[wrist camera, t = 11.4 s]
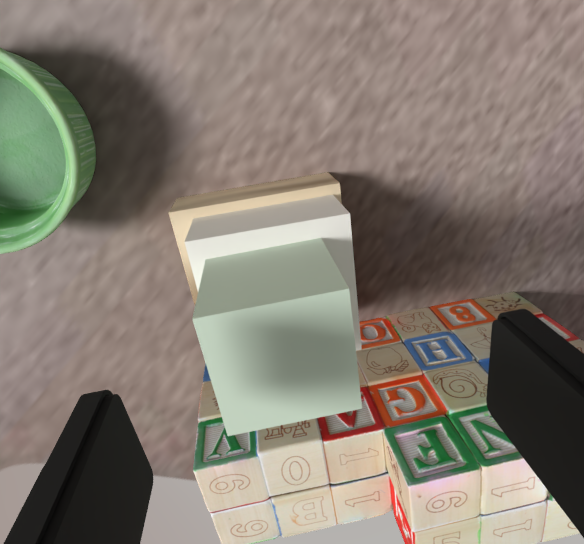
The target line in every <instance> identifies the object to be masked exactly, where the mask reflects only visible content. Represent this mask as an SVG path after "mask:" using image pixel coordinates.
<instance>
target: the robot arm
mask: <svg viewBox="0 0 584 544" xmlns="http://www.w3.org/2000/svg"><path fill="white" fill-rule="evenodd" d="M486 403H487V408H488V410H489V412H490V414H491V416H492V417H493V419H494V420H495V421H496V423H497V424H498V425H499V427H500V428H501V429H502V430H503V432H504V433H505V434H506V436H507V437H508V438H509V440H510V441H511V442H512V444H513V445H514V446H515V448H516V449H517V450H518V452H519V453H520V454H521V456H522V457H523V458H524V460H525V461H526V462H527V464H528V465H529V466H530V468H531V469H532V470H533V471H534V473H535V474H536V475H537V477H538V478H539V479H540V481H541V482H542V483H543V485H544V486H545V487H546V489H547V490H548V491H549V493H550V494H551V495H552V497H553V498H554V499H555V501H556V502H557V503H558V505H559V506H560V507H561V508H562V510H563V511H564V512H565V514H566V515H567V516H568V518H569V519H570V520H571V522H572V523H573V524H574V526H575V527H576V528H577V530H578V531H579V532H580V533H581V535H582V536H583V537H584V354H583V353H582V352H581V351H579V350H578V349H577V348H576V347H574V346H573V345H572V344H571V343H569V342H568V341H567V340H566V339H564V338H563V337H562V336H560V335H559V334H558V333H557V332H555V331H554V330H553V329H552V328H550V327H549V326H548V325H546V324H545V323H544V322H543V321H541V320H540V319H539V318H538V317H536V316H535V315H534V314H532V313H531V312H530V311H528V310H527V309H518V310H513V311H508V312H503V313H500V314H499V316H498V318H497V320H494V321H493V323H492V331H491V344H490V357H489V370H488V384H487V397H486ZM152 486H153V472H152V469H151V466H150V464H149V462H148V459H147V457H146V455H145V452H144V450H143V448H142V446H141V443H140V441H139V439H138V437H137V434H136V432H135V430H134V427H133V425H132V423H131V421H130V418H129V416H128V414H127V411H126V409H125V407H124V405H123V402H122V400H121V398H120V396H119V395H118V394H114V395H113V394H112V393H111V392H110V391H109V390H103V391H98V392H93V393H88V394H84V395H82V396H81V397H80V399H79V400H78V402H77V404H76V406H75V408H74V410H73V412H72V414H71V416H70V418H69V420H68V422H67V424H66V426H65V428H64V430H63V432H62V434H61V435H60V437H59V439H58V441H57V443H56V445H55V447H54V449H53V451H52V453H51V455H50V457H49V459H48V461H47V463H46V464H45V466H44V467H43V469H42V470H41V472H40V475H39V476H38V478H37V480H36V482H35V484H34V486H33V488H32V490H31V492H30V494H29V496H28V498H27V500H26V502H25V504H24V506H23V507H22V509H21V511H20V513H19V515H18V517H17V519H16V521H15V523H14V525H13V527H12V529H11V531H10V533H9V535H8V536H7V538H6V540H5V542H4V544H140V541H141V536H142V531H143V527H144V522H145V518H146V513H147V509H148V504H149V500H150V495H151V491H152Z"/></svg>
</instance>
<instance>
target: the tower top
mask: <svg viewBox="0 0 584 544" xmlns="http://www.w3.org/2000/svg"><path fill="white" fill-rule="evenodd" d="M317 238H322V240H323V242H324V244H325V246H326V248H327V249H328V251H329V253H330V255H331V257H332V258H333V260H334V262H335V264H336V266H337V268H338V269H339V271H340V273H341V275H342V277H343V278H344V280H345V282H346V284H347V286H348V287H349V292H350V301H351V310H352V319H353V328H354V338H355V347H356V351H357V350H362V347H361V336H360V324H359V313H358V301H357V289H356V278H355V266H354V255H353V243H352V231H351V220H350V213H349V212H348V211H347V210H346V208H345V207H344V206H343V205H342V204H341V203H340V202H339V201H338V200H337V198H336V197H335V196H334V195H333V194H332V195H327V196H321V197H315V198H309V199H303V200H297V201H292V202H286V203H280V204H274V205H268V206H262V207H256V208H251V209H245V210H239V211H233V212H227V213H222V214H216V215H210V216H204V217H198V218H193V221H192V223H191V226H190V229H189V231H188V234H187V237H186V239H185V246H186V250H187V253H188V257H189V261H190V264H191V268H192V272H193V276H194V279H195V283H196V287H197V290H198V291H199V287H200V282H201V277H202V273H203V268H204V264H205V259H211V258H216V257H221V256H227V255H232V254H237V253H242V252H248V251H253V250H258V249H264V248H269V247H274V246H280V245H285V244H290V243H296V242H301V241H306V240H312V239H317Z"/></svg>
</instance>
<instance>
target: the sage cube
mask: <svg viewBox="0 0 584 544" xmlns="http://www.w3.org/2000/svg"><path fill="white" fill-rule="evenodd" d="M192 319H193V323H194V326H195V329H196V333H197V336H198V339H199V343H200V346H201V349H202V353H203V356H204V359H205V363H206V366H207V369H208V373H209V376H210V379H211V383H212V386H213V389H214V393H215V396H216V399H217V402H218V406H219V409H220V412H221V416H222V419H223V422H224V426H225V429H226V432H227V436H232V435H237V434H241V433H246V432H251V431H256V430H261V429H266V428H271V427H275V426H280V425H285V424H290V423H295V422H300V421H305V420H310V419H314V418H319V417H324V416H329V415H334V414H339V413H344V412H348V411H353V410H358V409H362V401H361V392H360V383H359V374H358V365H357V356H356V347H355V338H354V328H353V319H352V310H351V301H350V292H349V287H348V286H347V284H346V282H345V280H344V278H343V277H342V275H341V273H340V271H339V269H338V268H337V266H336V264H335V262H334V260H333V258H332V257H331V255H330V253H329V251H328V249H327V248H326V246H325V244H324V242H323V240H322V238H317V239H312V240H306V241H301V242H296V243H290V244H285V245H280V246H274V247H269V248H264V249H258V250H253V251H248V252H242V253H237V254H232V255H227V256H221V257H216V258H211V259H205V264H204V268H203V273H202V277H201V282H200V287H199V291H198V296H197V300H196V305H195V309H194V314H193V318H192Z"/></svg>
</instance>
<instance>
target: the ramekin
mask: <svg viewBox="0 0 584 544" xmlns="http://www.w3.org/2000/svg"><path fill="white" fill-rule="evenodd" d="M95 163H96V146H95V142H94V137H93V132H92V129H91V126H90V123H89V121H88V119H87V117H86V114H85V112H84V111H83V109H82V107H81V106H80V104H79V103H78V101H77V100H76V98H75V97H74V96H73V95H72V93H71V92H70V91H69V90H68V89H67V88H66V87H65V86H64V85H63V84H62V83H61V82H60V81H59V80H58V79H57V78H55V77H54V76H53V75H52V74H50V73H49V72H48V71H46V70H45V69H43V68H41V67H40V66H38V65H37V64H35V63H33V62H31V61H29V60H26V59H25V58H23V57H20V56H18V55H16V54H13V53H10V52H7V51H5V50H3V49H2V48H0V254H3V253H10V252H15V251H19V250H22V249H25V248H27V247H30V246H32V245H34V244H37V243H38V242H40V241H42V240H43V239H45V238H46V237H48V236H49V235H50V234H51V233H53V232H54V231H55V230H56V229H57V228H58V227H59V225H60V224H61V223H62V222H63V221H64V219H65V218H66V216H67V215H68V213H69V212H70V210H71V208H72V207H73V206H74V205H75V204H76V203H77V202H78V201H79V200H80V199H81V198H82V196H83V195H84V193H85V192H86V191H87V189H88V187H89V185H90V183H91V181H92V178H93V174H94V170H95Z"/></svg>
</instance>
